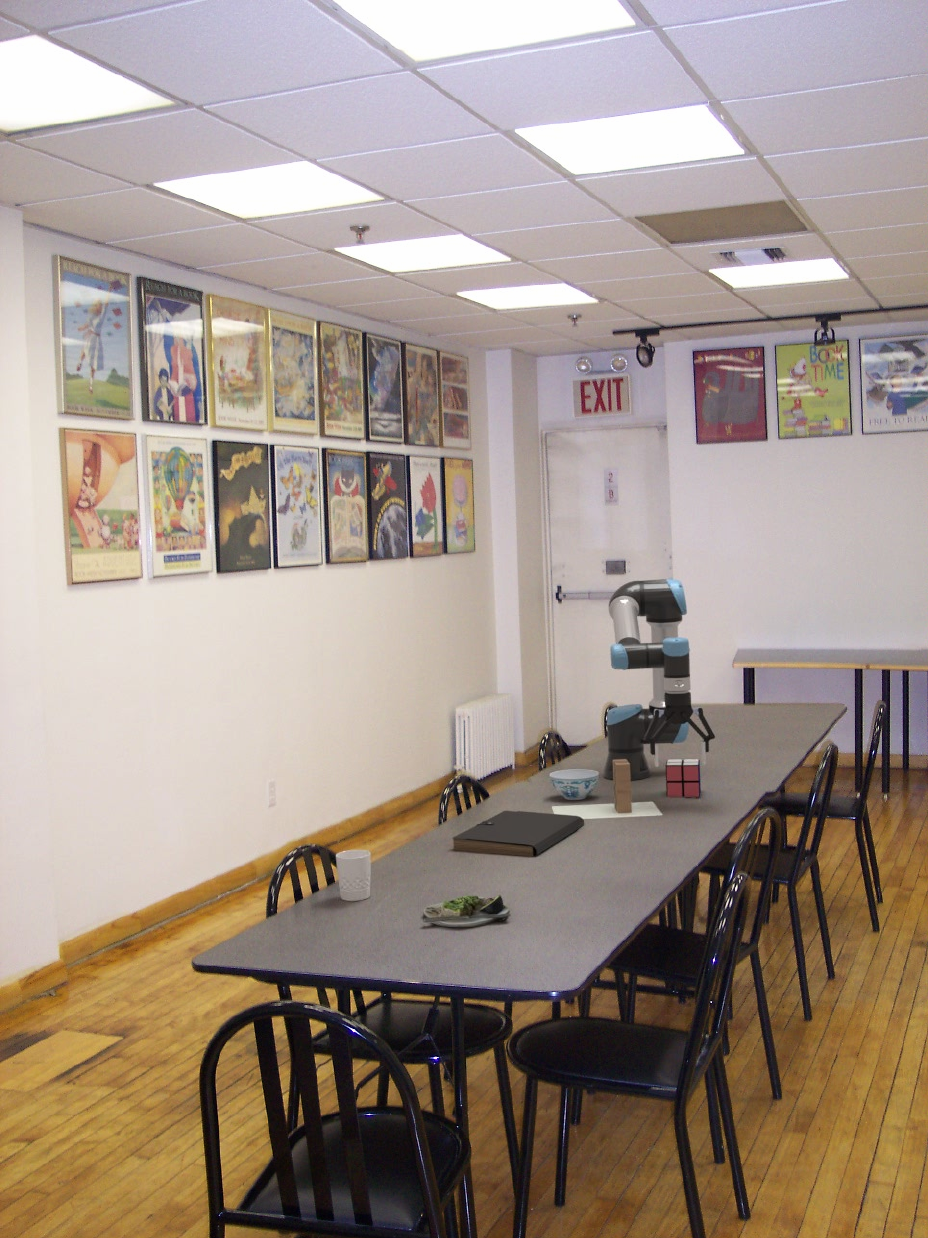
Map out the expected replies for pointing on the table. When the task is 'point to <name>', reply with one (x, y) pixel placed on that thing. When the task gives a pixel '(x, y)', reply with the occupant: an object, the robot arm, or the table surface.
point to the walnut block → (622, 786)
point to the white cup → (354, 874)
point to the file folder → (517, 833)
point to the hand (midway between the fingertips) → (680, 765)
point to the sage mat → (607, 810)
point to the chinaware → (574, 782)
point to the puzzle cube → (683, 778)
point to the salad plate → (467, 912)
